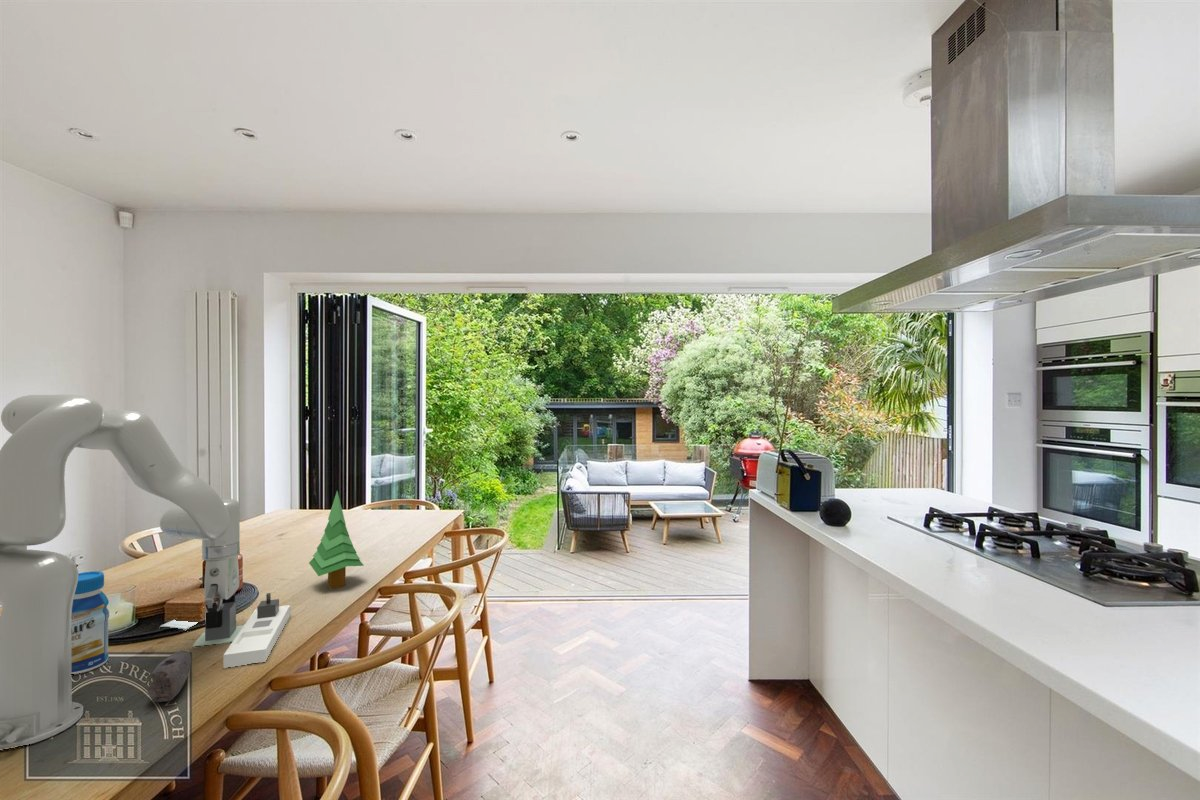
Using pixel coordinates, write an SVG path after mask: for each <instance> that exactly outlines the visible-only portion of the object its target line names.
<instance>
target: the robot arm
mask: <svg viewBox="0 0 1200 800" xmlns="http://www.w3.org/2000/svg"><path fill="white" fill-rule="evenodd" d="M0 419H1V420H0V421H1V424H2V427H3V428H4V429H5V430H6V431H7V432H8V433H9V434H11V436H9V438H8V439H7V440H6V441H5V443H4V444H3V446H2V447H1V448H0V606H1V608H2V610H1V612H0V749H5V748H11V747H15V746H21V745H27V746H29V744H30V745H32V744H36V743H39V742H42V741H43V740H47V739H49V738H51V737H53V736H56V735H58V734H60V733H62V732H64V731H66V730H67V729H69V728H70V727H72V726H73V725H74V724H76V723H77V722H79V720H80V719H81V718H82V717H83V714H84V705H83V704H81V703H80V702H76V701H72V699H73V698H72V694H73V693H72V675H71V615H72V605H73V599H74V595H75V591H76V587H77V583H78V573H79V570H78V567H77V565H76V563H75V562H74V560H72V559H71V558H70V557H68V556H66V555H65V554H63V553H58V552H54V551H50V550H49V551H48V550H37V549H28V547H29V546H36V545H42V544H45V543H48V542H51V541H53V540H54V539H55V538H57V537H58V536H59V535H60V534H61V533H62V531H63V529H64V527H65V525H66V518H67V511H66V510H67V509H66V487H65V483H66V482H65V475H66V474H65V471H66V462H67V461H68V458H69V456H70V454H71V453H72V451H73V450H74V449H75V448H79V449H87V450H100V451H101V450H103V451H106V450H107V451H110V452H111V453H112V455H113V456H114V457H115V459H117V461H118V462H119V464H120V465H121V467H122V468H123V469H124V470H125V472H126V474H127V475H128V476H129V478H130V479H131V481H132V482H133V484H134V485H135V486H136V487H137V488H140V489H141V490H143V491H145V492H147V493H149V494H152V495H154V496H157V497H160V498H162V499H165V500H166V501H169V502H171V503H173V504H175V505H176V506H174V507H171V508H169V509H168V510H167V511H166V512H164V514H162V517H160V520H159V528H160V530H161V532H162V533H163V534H164V535H166V536H168V537H171V538H176V539H185V540H186V539H187V540H188V539H189V540H201V559H202V560H203V561H205V568H204V570H205V571H204V585H203V586H204V591H203V592H204V600H205V606H204V607H206V629H210V628H218V627H221V626H222V612H223V610H221V606H222V603H229V602H236V592H237V590H239V588H240V571H239V570H240V569H239V566H240V565H239V559H238V556H239V555H240V552H241V551H240V550H241V549H240V547H241V546H240V536H241V535H240V534H241V533H240V530H241V529H240V528H241V527H240V526H241V525H240V516H241V515H240V513H241V512H240V511H241V510H240V508H241V507H240V503H239V501H238V500H236V499H233V498H221V496H220V495H219V493H218V492H217V491H216V489H214V488H213V487H212V486H211V485H210V484H208V483H207V482H206V481H205V480H204V479H202V478H201V477H199V476H198V475H196V474H195V473H194V471H191V470H190V469H188V468H186V466H184V465H182V463H181V462H180V461H179V459H178V458H177V457H176V455H175V453H174V452H173V450H172V449H171V447H170V446H169V444H168V443H167V441H166V440H165V438H164V436H163V435H162V434H161V432H160V431H159V428H158V427H157V425H156V424H155V422H154V421H153V419H151V417H150V416H148V415H147V414H145V413H143V412H141V411H137V410H131V409H130V410H129V409H103V406H102V405H101V404H100V403H99V401H97V400H95V399H94V398H91V397H87V396H83V395H76V394H75V395H74V394H29V395H23V396H20V397H17V398H15V399H12V400H11V401H9V402H8V403H7V404H6V405H5V406H4V408H3V409H2V411H1V413H0ZM217 604H218V605H217Z"/></svg>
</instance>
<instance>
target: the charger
mask: <svg viewBox="0 0 1200 800" xmlns="http://www.w3.org/2000/svg"><path fill="white" fill-rule="evenodd" d="M216 604H217V605H218V603H216ZM221 610H223V612H222V626H221V627H218V628H210V629H206V612H205V624H204V627H205V628H204V631H205V641H210V640H217V639H225V638H230V637H231V635H232V634H233V633H234V631H235V630H236V626H237V602H236V601H235V602H229V603H222V606H221Z"/></svg>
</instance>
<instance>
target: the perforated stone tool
mask: <svg viewBox="0 0 1200 800" xmlns="http://www.w3.org/2000/svg"><path fill="white" fill-rule="evenodd" d="M191 666H192V657H191V654H190V652H189V651H188V650H187V649H183V650H178V651H175V652H173V653H172V654H170V655H169V656H167V657H166V658H165V659H163V660H162V661H161V662H160V663H158V664H157V666H155V668H154V669H153V670H152V672H151V674H150V677H151V680H152V681H151V682H150V685H149V686H148V689H147V693H148V695H149V696H150V699H151V701H152V702H153V703H164V702H165V703H166V702H170V701H172V700H174V698H175V697H176V696H178V694H179V693H180V692H181V690H182V688H183V687H184V685H185V683H186V680H187V679H188V676H189V672H190V670H191Z"/></svg>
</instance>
